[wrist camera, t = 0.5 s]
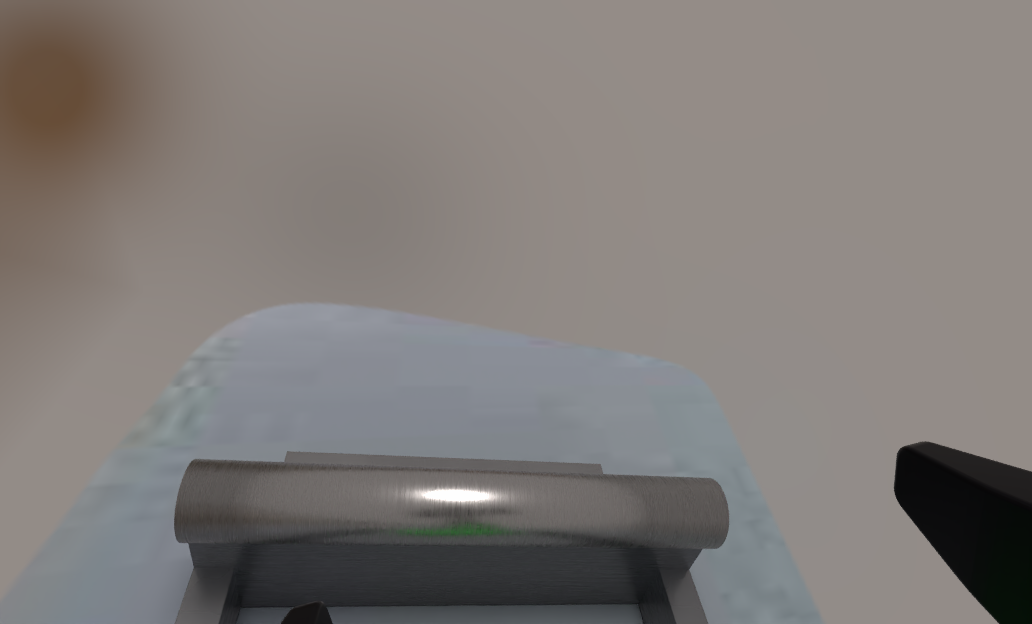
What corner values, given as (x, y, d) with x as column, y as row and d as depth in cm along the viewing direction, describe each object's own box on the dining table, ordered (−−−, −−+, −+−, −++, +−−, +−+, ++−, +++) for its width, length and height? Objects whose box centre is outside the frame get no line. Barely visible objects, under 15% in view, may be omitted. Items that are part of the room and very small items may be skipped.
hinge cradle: (764, 920, 17) (890, 861, 13) (78, 1008, 13) (-17, 962, 10) (627, 476, 29) (672, 379, 25) (248, 462, 25) (235, 348, 22)
